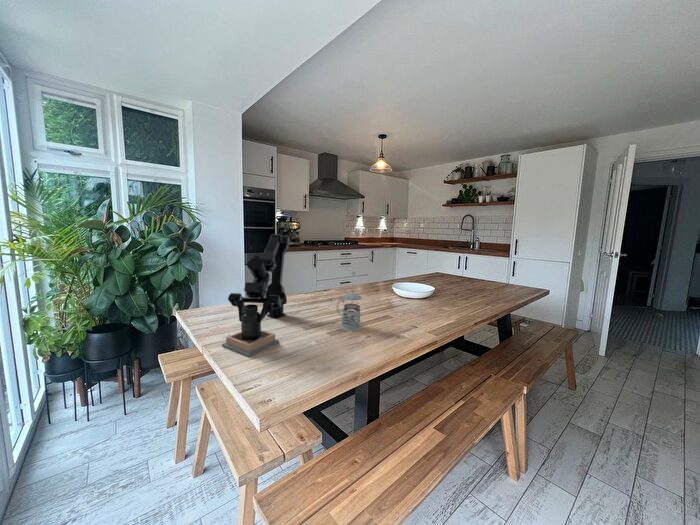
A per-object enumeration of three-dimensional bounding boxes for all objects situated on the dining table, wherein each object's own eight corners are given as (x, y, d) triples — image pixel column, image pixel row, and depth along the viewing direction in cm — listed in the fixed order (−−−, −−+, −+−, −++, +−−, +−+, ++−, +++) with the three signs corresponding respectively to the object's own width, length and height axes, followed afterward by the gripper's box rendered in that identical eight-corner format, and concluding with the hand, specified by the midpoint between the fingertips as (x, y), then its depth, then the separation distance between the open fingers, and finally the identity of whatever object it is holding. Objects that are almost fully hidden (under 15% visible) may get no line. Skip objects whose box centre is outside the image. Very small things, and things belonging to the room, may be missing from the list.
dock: (253, 334, 114) (253, 325, 113) (278, 342, 107) (278, 333, 106) (222, 346, 102) (221, 337, 101) (248, 357, 95) (248, 347, 94)
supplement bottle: (265, 337, 105) (264, 306, 103) (247, 343, 99) (246, 310, 98) (254, 332, 109) (254, 302, 107) (238, 337, 104) (236, 306, 102)
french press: (360, 332, 120) (362, 274, 117) (333, 329, 122) (335, 272, 119) (363, 324, 130) (366, 270, 126) (339, 321, 132) (340, 268, 129)
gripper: (229, 272, 105) (215, 310, 96) (279, 274, 104) (270, 312, 95) (238, 287, 114) (226, 324, 104) (284, 289, 113) (277, 326, 104)
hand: (249, 321), depth 102 cm, fingers closed on supplement bottle, 7 cm apart
